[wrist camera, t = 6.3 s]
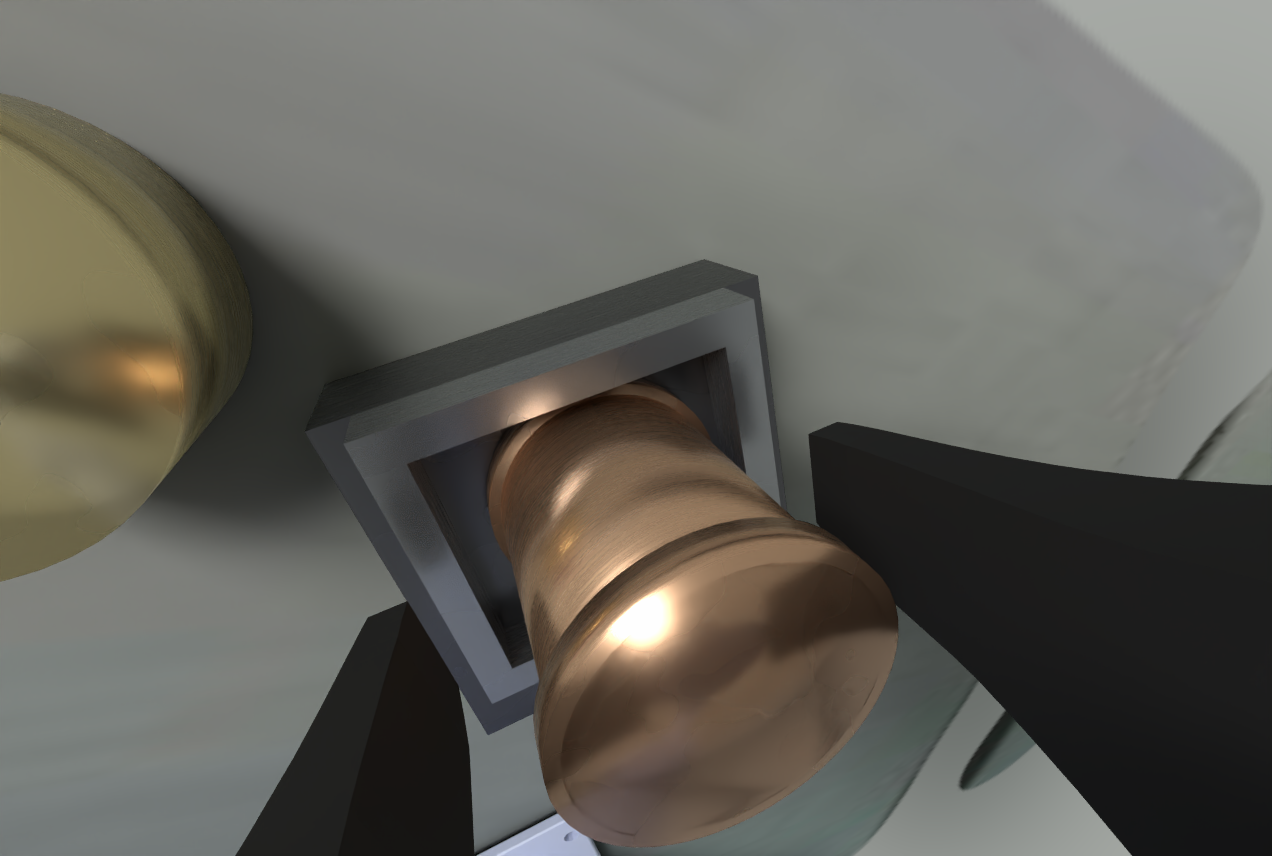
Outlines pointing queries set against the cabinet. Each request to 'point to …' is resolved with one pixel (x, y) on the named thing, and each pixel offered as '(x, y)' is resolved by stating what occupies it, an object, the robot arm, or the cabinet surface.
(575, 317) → the gray square open box
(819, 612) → the copper flared cylinder
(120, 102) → the cabinet surface
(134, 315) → the gold short rounded piece
